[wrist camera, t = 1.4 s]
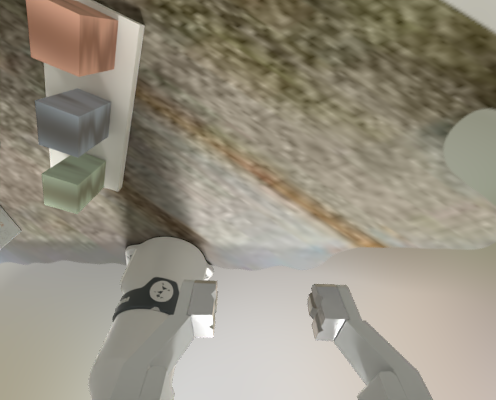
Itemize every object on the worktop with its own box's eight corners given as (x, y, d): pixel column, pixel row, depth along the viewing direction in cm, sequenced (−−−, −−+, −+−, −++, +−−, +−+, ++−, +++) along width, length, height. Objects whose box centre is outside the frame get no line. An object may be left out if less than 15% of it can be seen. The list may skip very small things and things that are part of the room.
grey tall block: (108, 136, 32) (78, 157, 26) (77, 125, 31) (38, 144, 26) (111, 101, 30) (78, 116, 24) (77, 88, 29) (35, 100, 23)
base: (122, 187, 39) (117, 192, 38) (57, 166, 37) (49, 171, 35) (144, 25, 27) (138, 24, 25) (48, -22, 24) (35, -26, 23)
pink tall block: (114, 69, 27) (79, 76, 22) (77, 53, 27) (31, 57, 21) (118, 20, 25) (79, 14, 19) (78, 1, 24) (24, -11, 18)
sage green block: (103, 187, 37) (77, 214, 31) (76, 178, 36) (44, 204, 30) (106, 160, 34) (77, 185, 29) (77, 150, 33) (41, 173, 28)
